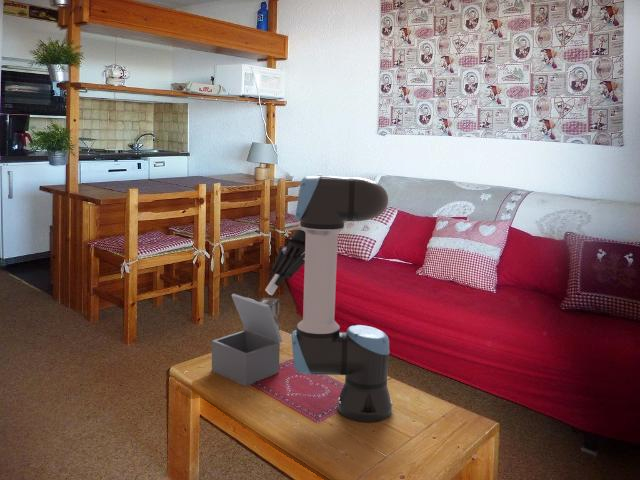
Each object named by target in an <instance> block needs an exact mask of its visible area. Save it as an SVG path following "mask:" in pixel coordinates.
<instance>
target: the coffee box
mask: <svg viewBox="0 0 640 480" xmlns="http://www.w3.org/2000/svg"><path fill="white" fill-rule="evenodd" d="M280 300H281V298H272V297H262V298H261V299H260V300H259V301H258V302H261V303H264V304H267V305H269V306H270V309H271V311H272V314H273V317H274V320H275V322H276V325H277V328H278V330H279V331H280V311H281V309H280V303H281V301H280ZM257 335H258V334H257ZM262 337H263V336H262ZM265 338H266V337H265ZM267 339H268V338H267ZM270 340H271V339H270ZM273 341H274V340H273ZM275 342H276V341H275Z"/></svg>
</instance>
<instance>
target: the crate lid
mask: <svg viewBox="0 0 640 480" xmlns="http://www.w3.org/2000/svg"><path fill="white" fill-rule="evenodd" d="M231 299H232V301H233V303H234V305H235V309H236V311H237V312H238V316H239V318H240V320H241V321H240V322H242V325H243V328H244V330H246V331H249V332H252V333H254V334H258V335H260V336H263V337H266V338H268V339H271V340H274V341H276V342H278V343H280V344H281V343H283V339H282V336H281V333H280V329H279V330H278V328H277V325H276V322H275V320H274V317H273V314H272V311H271V309H270V306H269V305H267V304H264V303H261V302H259V301H257V300H255V299H254V298H253V299H252V298H250V297H245V296H243V295H239V294H237V293H232V294H231Z"/></svg>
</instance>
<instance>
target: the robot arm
mask: <svg viewBox="0 0 640 480" xmlns="http://www.w3.org/2000/svg"><path fill="white" fill-rule="evenodd" d="M298 191H299V192H298V196H297V197H298V198H297V203H296V210H295V217H294V219H295V220H297V221H299V222H300V224H298V226H297V227H296V230H295V231H294V232H293V234H292V235H291V237H290V242H289V243H288V244H287V245H286V246H284V247H282V246H279V248H278V253H277V255H276V257H275V259H274V262H273V264H272V267H271V269H270V271H271V272H272V273H273V275H272V277H271V278H269V283H268V284H267V286H266V287H265V289H264V290H265V292H266V293H267V294H268V295H270V296H273V295H274V294H275V292H276V291H277V289H278V288H279V287H280V286H281V285H282V283H283V282H284V280H285V279H291V278H293V276H294V275H295V274H296V273H297V271H299V269H301V267H302V266H304V275H303V276H304V279H303V305H302V306H303V310H302V311H303V313H302V320H300V321H299V322H298V323H297V324H296V325H297V326H296V329H295V330H293V331H291V345H292V346H291V348H292V357H293V365H294V369H295V371H296V372H297V373H299V374H301V375H302V374H305V375H311V376H314V375H316V376H317V375H319V376H321V375H322V376H324V375H325V376H345V378H344V383H343V387H342V388H341V392H340V394H339V397H338V399H337V410H338V412H339V413H340V414H341V415H342V416H343V417H345V418H347V419H350V420H352V421H357V422H363V423H365V422H366V423H373V422H380V421H382V420H386V419H387V418H389V417H390V416H391V414H392V412H393V411H392V409H393V403H392V399H391V396H390V391H389V388H388V387H389V386H388V373H389V369H388V368H389V358H390V357H389V355H390V353H391V352H390V338H389V337H388V335H387V334H386V333H385V332H384V331H383V330H380V329H378V328H376V327H373V326H368V325H363V324H356V325H351V326H349V327H348V328H347V329H346V332H345V331H344V332H342V331H340V330H341V329H340V328H341V327H340V325H339V324H338V323H337V321H336V320H335V313H336V312H335V311H336V292H337V291H336V286H337V263H338V262H337V260H338V243H339V242H338V238H339V237H338V236H339V234H340V233H341V232H342V231H343V230H344V229H345V223H346V222H362V221H363V222H365V221H369V220H372V219H375V218H377V217H380V216H381V215H382V214H383V213H385V211H386V209H387V207H388V204H389V195H388V193H387V191H386V189H385V188H384V187H383V186H382V185H381V184H379V183H378V182H376V181H374V180H370V179H368V178H363V177H357V176H355V177H354V176H351V177H350V176H349V177H347V176H327V175H310V176H309V175H308V176H304V177H303V178H302V179H301V181H300V185H299V189H298Z"/></svg>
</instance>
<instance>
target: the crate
mask: <svg viewBox="0 0 640 480" xmlns="http://www.w3.org/2000/svg"><path fill="white" fill-rule="evenodd" d="M280 346H281V343H279V342H275V341H273V340H270V339H267V338H265V337H262V336H260V335H257V334H255V333H252V332H250V331H247V330H245V329H244V330H241V331H239V332H235V333H231V334H229V335H226V336H222V337H220V338H216V339H212V340H211V371H212V372H214V373H216V374H218V375H219V376H220V375H221V376H222V377H225V378H227V379H229V380H231V381H233V382H236V383H237V384H239V385H242V386H244V387H248V386H250V385H252V384H255V383H257V382H256V381H258V382H260V381H262V380H261V379H263V380H265V379H267V377H268V378H270V377H273V376H275V375H277V373H278V374H279V373H280V351H281V350H280V348H281V347H280ZM274 374H275V375H274ZM272 375H273V376H272ZM269 376H270V377H269ZM264 378H265V379H264ZM259 380H260V381H259ZM254 382H255V383H254Z"/></svg>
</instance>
